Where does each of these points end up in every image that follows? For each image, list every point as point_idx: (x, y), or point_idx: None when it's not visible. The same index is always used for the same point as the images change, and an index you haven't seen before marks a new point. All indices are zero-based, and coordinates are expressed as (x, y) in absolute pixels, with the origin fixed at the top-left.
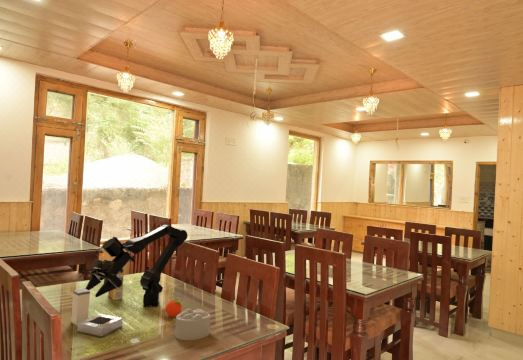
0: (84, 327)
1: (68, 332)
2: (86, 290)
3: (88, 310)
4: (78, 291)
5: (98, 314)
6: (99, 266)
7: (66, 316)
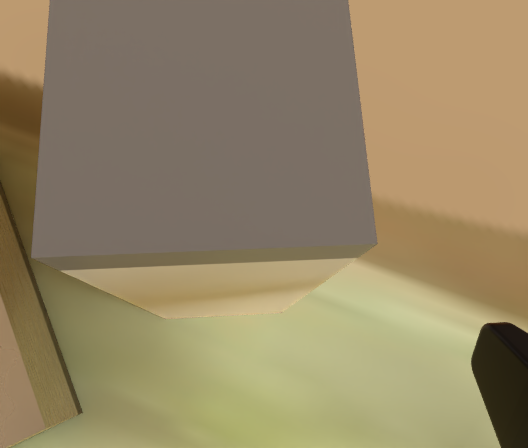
0: None
1: None
2: (154, 204)
3: (142, 307)
4: (191, 17)
5: (27, 400)
6: None
7: (445, 223)
